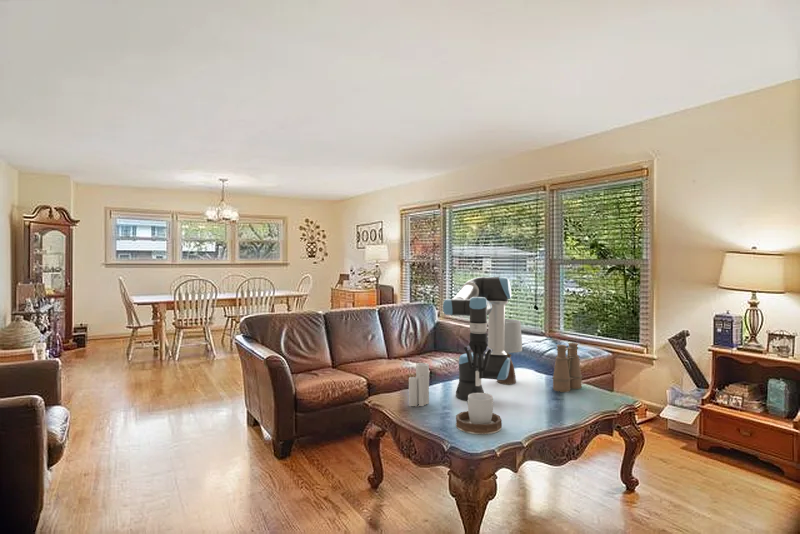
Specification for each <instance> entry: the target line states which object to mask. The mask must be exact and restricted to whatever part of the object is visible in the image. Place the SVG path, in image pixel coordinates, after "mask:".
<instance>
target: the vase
mask: <svg viewBox="0 0 800 534" xmlns="http://www.w3.org/2000/svg"><path fill="white" fill-rule="evenodd" d="M418 404H419V405H418ZM426 404H428V405H429V404H430V364H429V363H426V362H425V363H424V362H420V363H416V364H415V376H410V377H408V406H409V407H411V406H415V407H419V406H423V407H424V406H427V405H426ZM417 405H418V406H417Z"/></svg>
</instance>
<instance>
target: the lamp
mask: <svg viewBox="0 0 800 534" xmlns="http://www.w3.org/2000/svg"><path fill="white" fill-rule="evenodd" d="M504 351H505V352H506V353H507V358H510V368H509V373H508V377H507V378H506V379H505V380H496V382H497V383H498V384H501V385H513V384H516V383H517V379H516V371H515V367H514V363H513V361H512V358H511V357H512V356H513V355H512V353H513V354H514V353H520V352H523V337H522V323H521V320H519V319H512V318H510V319H508V318H505V341H504Z"/></svg>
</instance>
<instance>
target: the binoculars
mask: <svg viewBox="0 0 800 534" xmlns="http://www.w3.org/2000/svg"><path fill="white" fill-rule="evenodd" d="M578 345H579V343H578V342H577V343H576V342H568V347H567V345H566V344H557V345H556V347H557V348H556V351H557V352H556V353H557V356H556V357H555V358H554V359H555V363H554V368H553V369H554V370H553V376H552V377H551V379H552V390H553V391H556V392H559V391H560V392H561V393H566V392H567V393H568V392H571V389H572V390H575V389H576V390H579V389H582V378H583V375H582V370H581V364H580V356H579V355H578V349H579V347H578ZM566 352H567V353H566Z"/></svg>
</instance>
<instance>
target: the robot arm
mask: <svg viewBox="0 0 800 534" xmlns="http://www.w3.org/2000/svg"><path fill="white" fill-rule="evenodd" d="M511 287H512V286H511V282H510V279H509V278H508V277H505V276H478V277H474V278H473V277H472V279H469V280H467V281H466V282H465V283H464V284H462V286H461V289H460V291H459V292H458V293H456V295H455V296H454V297H453V298H446V299H444V300H443V304H442V311H443V313H444V315H447V316H467V317H469V331H470V332H469V344H468V345H467V346H464V348H463V349H464V351H465V352H466V353H462V354H461V355H460V356H459V359H458V385H457V387H456V391H455V397H456V398H457V399H460V400H462V401H468V395H469V394H472V393H485V392H484V389H483V388H484V387H483V385H482V379H484V380H496V381H497V380H505V379H506V378H507V377H508V373H509V368H510V358H507V353H506V352H505V351H504V341H505V319H506V305H507V304H508V303H509V300H511V299H512V288H511Z"/></svg>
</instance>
